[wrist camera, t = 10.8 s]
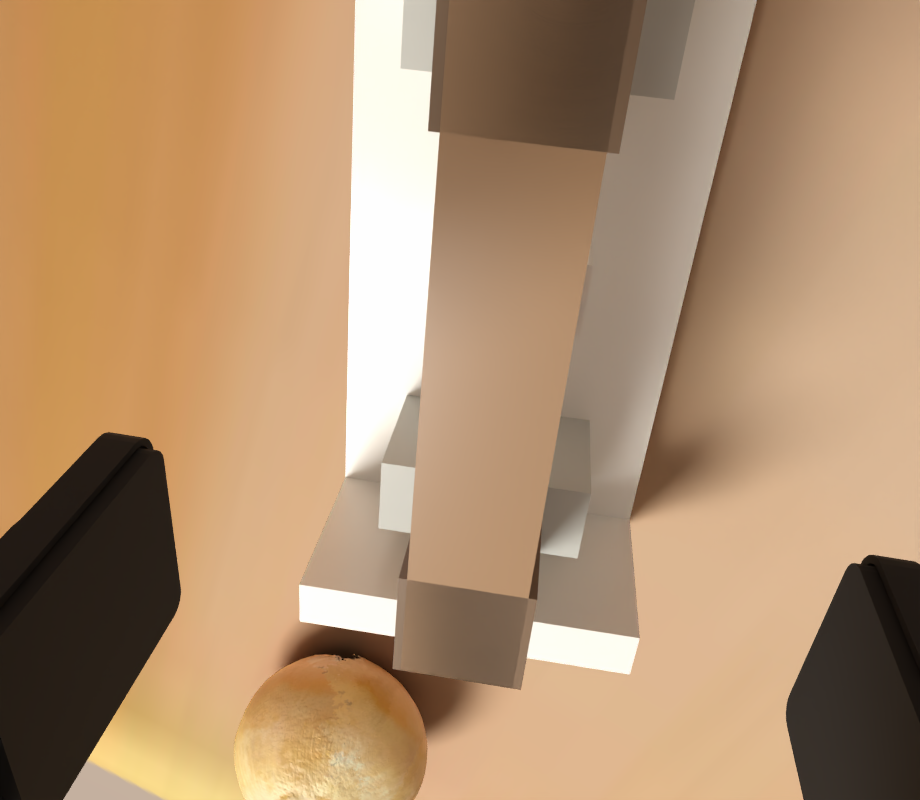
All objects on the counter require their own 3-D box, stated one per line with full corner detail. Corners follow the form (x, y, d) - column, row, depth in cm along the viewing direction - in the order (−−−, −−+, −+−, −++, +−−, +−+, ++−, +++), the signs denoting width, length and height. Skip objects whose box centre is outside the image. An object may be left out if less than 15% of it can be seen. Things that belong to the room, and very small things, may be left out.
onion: (307, 597, 34) (248, 742, 28) (470, 680, 35) (447, 836, 29) (238, 701, 38) (172, 848, 32) (386, 772, 39) (351, 926, 33)
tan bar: (636, -58, 16) (656, -53, 12) (531, 556, 24) (520, 689, 20) (477, -74, 16) (441, -75, 12) (425, 539, 25) (392, 669, 20)
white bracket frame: (782, -158, 20) (873, -198, 14) (619, 526, 30) (629, 674, 24) (374, -196, 20) (286, -251, 14) (354, 486, 31) (299, 621, 25)
